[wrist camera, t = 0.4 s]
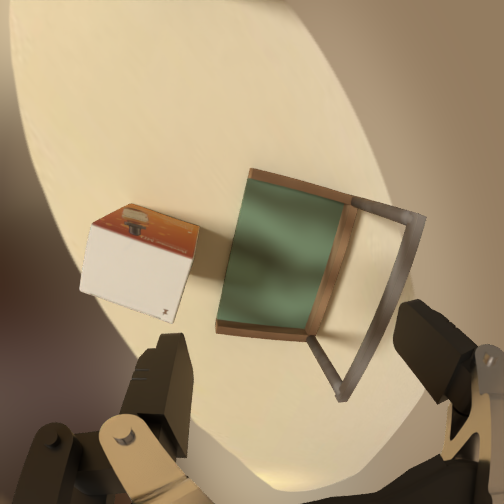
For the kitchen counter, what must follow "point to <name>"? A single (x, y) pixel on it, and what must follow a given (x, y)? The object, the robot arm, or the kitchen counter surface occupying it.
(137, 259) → the small box
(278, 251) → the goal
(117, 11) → the kitchen counter surface
